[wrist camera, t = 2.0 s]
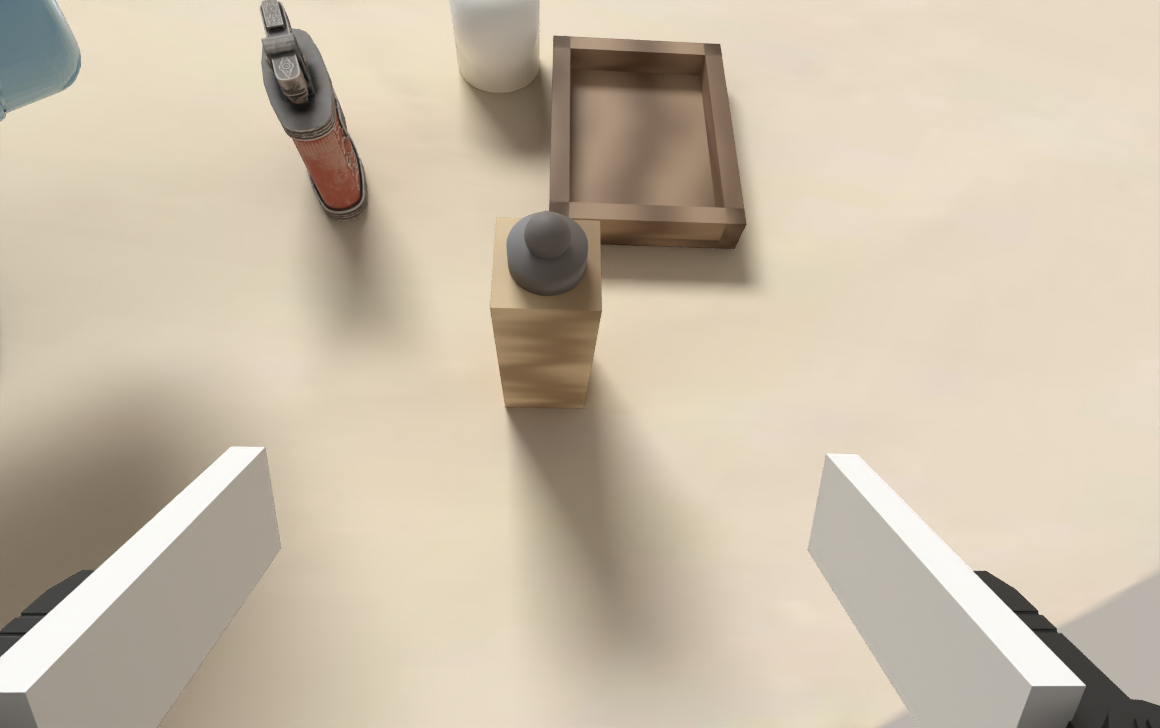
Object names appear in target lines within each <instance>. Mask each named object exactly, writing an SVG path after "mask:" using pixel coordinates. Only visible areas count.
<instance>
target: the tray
mask: <svg viewBox="0 0 1160 728" xmlns="http://www.w3.org/2000/svg"><path fill="white" fill-rule="evenodd" d="M549 211H551V212H555V213H559V214H562V215H565V216H567V217H569V218H571V219H573V220H593V221H600V244H614V245H644V246H675V247H705V248H735V246H736V244H737V242H738V240H739V238H740V236H741V234H742V232H743V230H744V228H745V226H746V219H745V212H744V205H743V198H742V191H741V184H740V178H739V171H738V164H737V157H736V150H735V143H734V136H733V129H732V122H731V115H730V109H729V102H728V95H727V88H726V81H725V74H724V67H723V60H722V53H721V47H720V44H707V43H688V42H668V41H649V40H629V39H609V38H590V37H570V36H554V37H553V78H552V120H551V162H550V203H549Z"/></svg>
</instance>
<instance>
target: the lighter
mask: <svg viewBox="0 0 1160 728" xmlns="http://www.w3.org/2000/svg"><path fill="white" fill-rule="evenodd" d="M260 12H261V17H262V21H263V25H264V29H265V34H266V38H264V39H262V44H263V47H262V62H261V64H262V72H263V81H264V86H265V89H266V91H267V94H268V97H269V100H270V103H271V105H272V107H273V109H274V111H275V113H276V115H277V117H278V119H279V121H280V123H281V124H282V126H283V128H284V130H285V132H286V133H287V134H288V135H289V137H291V138H292V139H293V141H294V143H295V145H296V147H297V149H298V151H299V153H300V155H301V157H302V159H303V161H304V163H305V165H306V168H307V172H308V175H309V178H310V181H311V183H312V186H313V189H314V191H315V193H316V195H317V197H318V199H319V201H320V202H321V204H322V206H323V208H324V210H325V212H326V213H327V215H328V216H329V217H330V218H332V219H334V220H337V221H348V220H352V219H355V218H358V217H359V216H360V215H362V214H363V213H364V212H365V210H366V209H367V205H368V201H367V183H366V178H365V173H364V167H363V165H362V162H361V159H360V157H359V154H358V152H357V149H356V147H355V144H354V142H353V140H352V138H351V136H350V135H349V133H348V131H347V127H346V121H345V117H344V114H343V112H342V109H341V106H340V104H339V101H338V98H337V96H336V93H335V91H334V88H333V86H332V82H331V79H330V77H329V74H328V71H327V69H326V66H325V64H324V61H323V59H322V56H321V54H320V52H319V50H318V48H317V47H316V45H315V43H314V42H313V40H312V39H311V37H310V35H309V34H308V33H306V32H305V31H302V30H300V29H291V25H290V22H289V19H288V17H287V14H286V12H285V9H284V7H283V5H282V3H281V2H280V1H277V0H263V1H262V2H261V5H260Z"/></svg>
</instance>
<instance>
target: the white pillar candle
mask: <svg viewBox="0 0 1160 728" xmlns="http://www.w3.org/2000/svg"><path fill="white" fill-rule="evenodd" d="M449 3H450V10H451V17H452V24H453V31H454V38H455V45H456V52H457V59H458V66H459V71H460V73H461V75H462V77H463V78H464V79H465V80H466V81H467V82H468V83H469V84H470V85H472V86H473V87H475V88H477V89H480V90H482V91H486V92H491V93H508V92H513V91H517V90H519V89H522V88H524V87H526V86H527V85H529V84H530V83H531V82H532V81H533V80H534V79H535V78H536V76H537V74H538V71H539V66H540V55H539V0H449Z"/></svg>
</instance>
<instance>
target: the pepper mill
mask: <svg viewBox="0 0 1160 728" xmlns="http://www.w3.org/2000/svg"><path fill="white" fill-rule="evenodd" d="M490 312H491V318H492V325H493V331H494V338H495V344H496V350H497V357H498V363H499V370H500V376H501V383H502V389H503V396H504V402H505V407H536V408H584V406H585V400H586V395H587V389H588V384H589V378H590V373H591V367H592V362H593V356H594V351H595V345H596V340H597V334H598V329H599V323H600V318H601V312H602V297H601V246H600V221H593V220H573V219H571V218H569V217H567V216H565V215H562V214H559V213H555V212H551V211H543V212H540V213H535V214H531V215H528V216H526V217H524V218H507V217H496V227H495V241H494V256H493V270H492V284H491V299H490Z"/></svg>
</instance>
